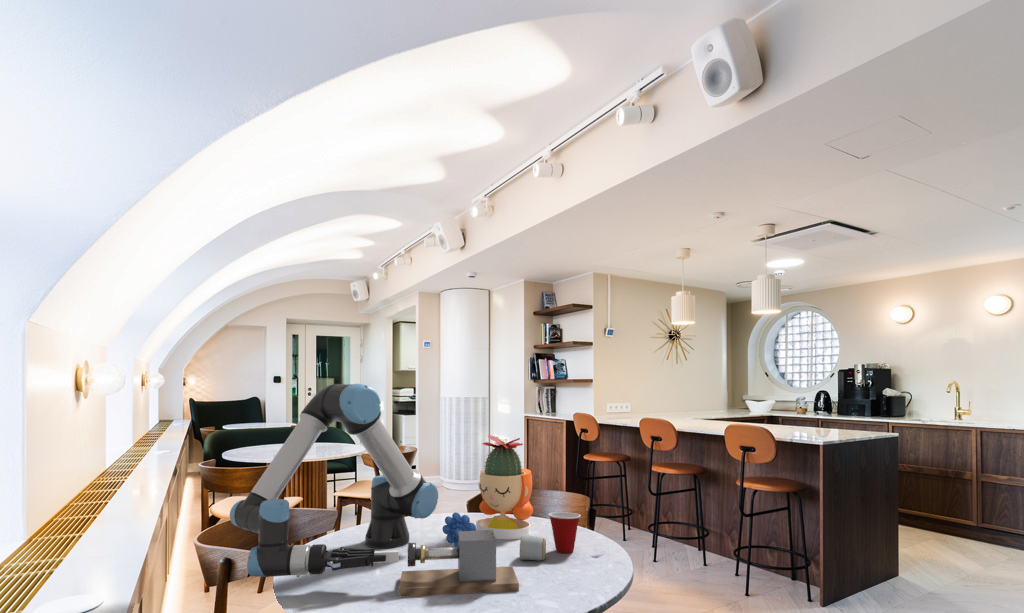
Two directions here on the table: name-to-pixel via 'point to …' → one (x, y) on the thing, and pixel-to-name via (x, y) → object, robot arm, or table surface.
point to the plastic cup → (564, 530)
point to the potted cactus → (505, 492)
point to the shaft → (430, 553)
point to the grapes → (457, 527)
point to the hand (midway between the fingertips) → (398, 556)
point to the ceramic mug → (532, 548)
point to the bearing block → (477, 556)
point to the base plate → (453, 582)
